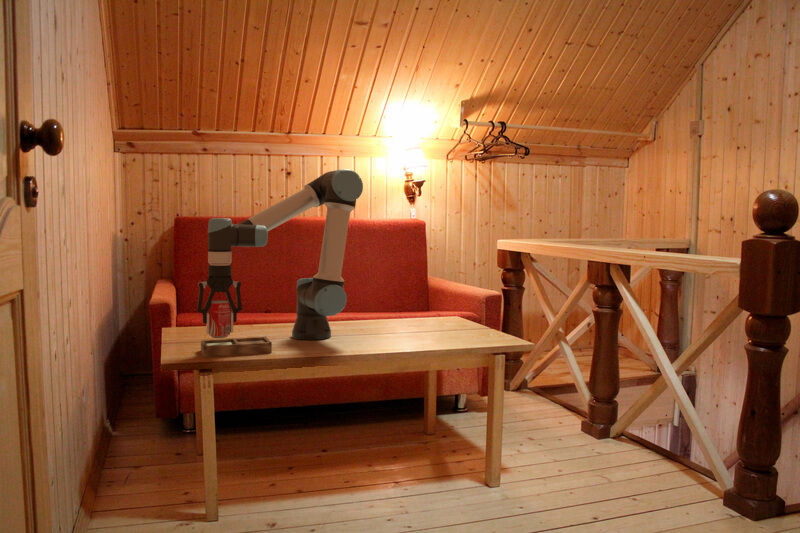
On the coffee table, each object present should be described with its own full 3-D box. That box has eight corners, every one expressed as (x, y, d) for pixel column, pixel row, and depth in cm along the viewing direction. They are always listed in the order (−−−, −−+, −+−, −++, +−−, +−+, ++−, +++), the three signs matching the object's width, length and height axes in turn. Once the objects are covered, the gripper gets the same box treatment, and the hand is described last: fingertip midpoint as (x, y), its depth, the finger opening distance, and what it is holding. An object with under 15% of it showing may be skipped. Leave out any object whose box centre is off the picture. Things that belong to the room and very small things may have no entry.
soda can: (211, 334, 193) (211, 299, 193) (232, 334, 194) (232, 300, 193) (206, 338, 186) (206, 302, 186) (227, 338, 187) (228, 302, 186)
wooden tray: (265, 346, 202) (265, 336, 202) (271, 352, 192) (271, 342, 192) (200, 350, 193) (200, 340, 193) (203, 357, 183) (203, 346, 183)
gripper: (248, 263, 196) (248, 329, 197) (187, 263, 188) (187, 332, 190) (252, 265, 189) (251, 332, 191) (188, 265, 181) (188, 336, 183)
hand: (219, 332), depth 190 cm, fingers closed on soda can, 7 cm apart
